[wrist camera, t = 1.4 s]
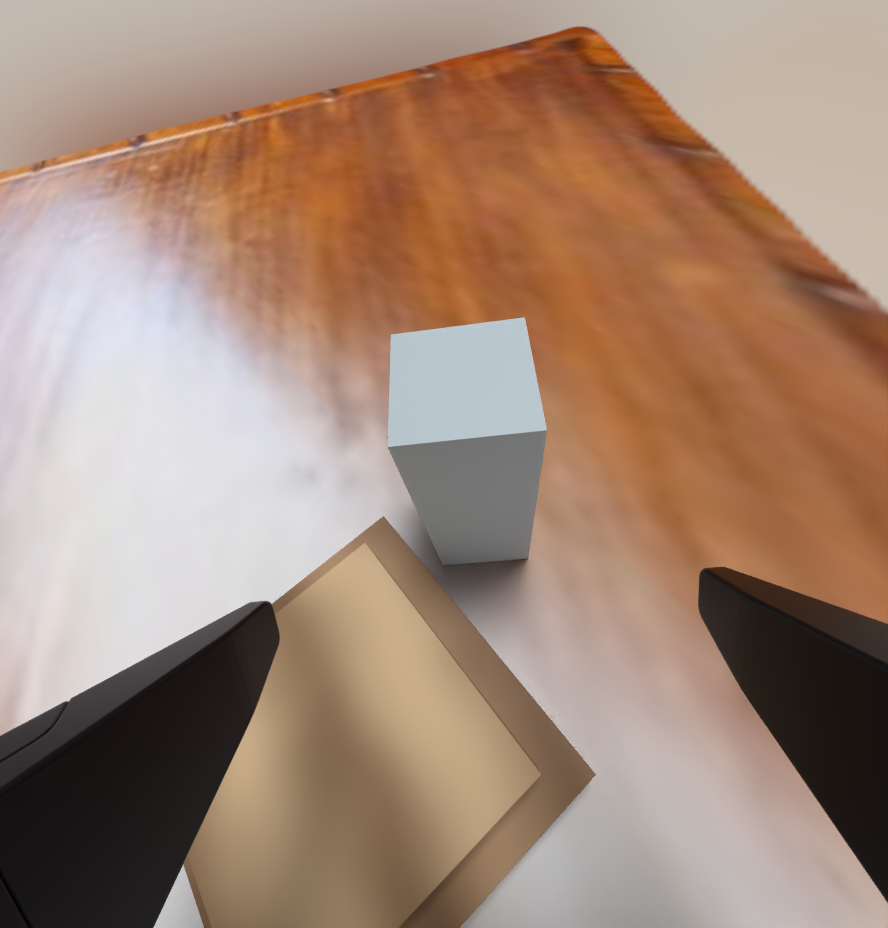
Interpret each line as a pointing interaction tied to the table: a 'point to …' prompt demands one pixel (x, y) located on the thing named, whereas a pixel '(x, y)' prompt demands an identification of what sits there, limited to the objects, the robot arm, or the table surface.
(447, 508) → the block
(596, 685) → the table surface
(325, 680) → the plinth
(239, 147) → the table surface
